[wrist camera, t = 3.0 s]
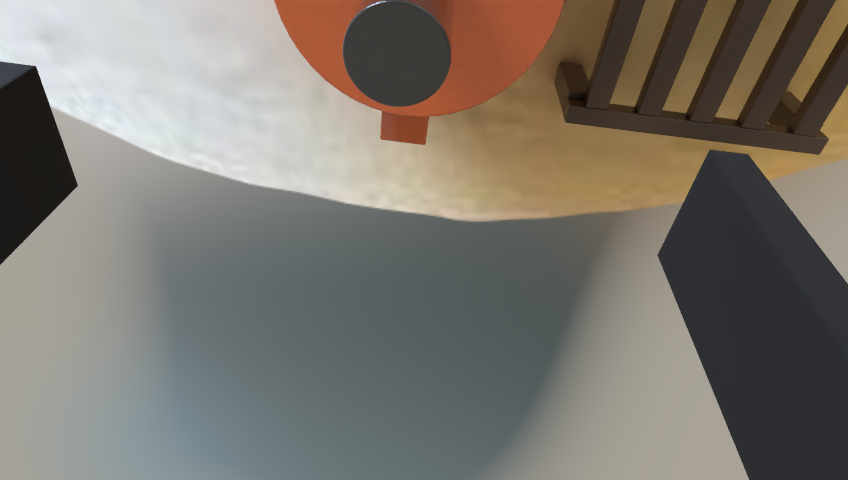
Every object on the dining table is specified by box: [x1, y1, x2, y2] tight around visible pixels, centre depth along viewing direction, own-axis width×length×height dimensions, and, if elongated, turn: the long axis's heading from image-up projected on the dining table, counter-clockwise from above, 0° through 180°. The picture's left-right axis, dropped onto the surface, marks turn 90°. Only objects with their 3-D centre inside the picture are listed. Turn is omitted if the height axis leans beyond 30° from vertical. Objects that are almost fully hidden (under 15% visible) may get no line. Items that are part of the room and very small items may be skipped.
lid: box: [274, 0, 565, 117], centre depth 20 cm, size 12×12×10 cm
